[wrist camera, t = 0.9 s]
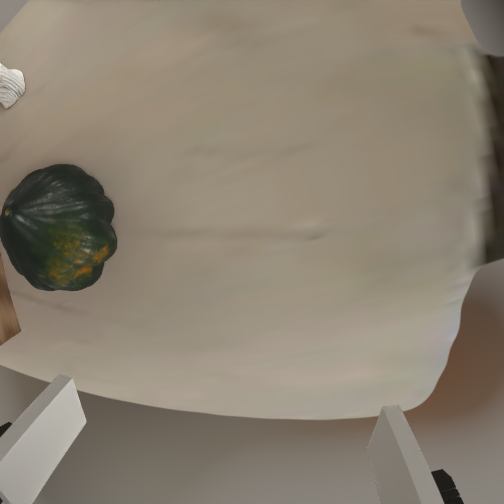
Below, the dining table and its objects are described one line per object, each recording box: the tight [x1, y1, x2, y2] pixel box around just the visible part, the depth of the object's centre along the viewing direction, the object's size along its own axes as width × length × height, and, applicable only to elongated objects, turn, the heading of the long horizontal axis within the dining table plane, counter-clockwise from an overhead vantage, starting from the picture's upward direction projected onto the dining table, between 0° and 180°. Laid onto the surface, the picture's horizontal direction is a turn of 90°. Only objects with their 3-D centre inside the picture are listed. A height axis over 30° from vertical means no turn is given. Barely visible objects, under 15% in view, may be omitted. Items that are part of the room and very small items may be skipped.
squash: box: [0, 164, 117, 291], centre depth 31 cm, size 14×15×15 cm
